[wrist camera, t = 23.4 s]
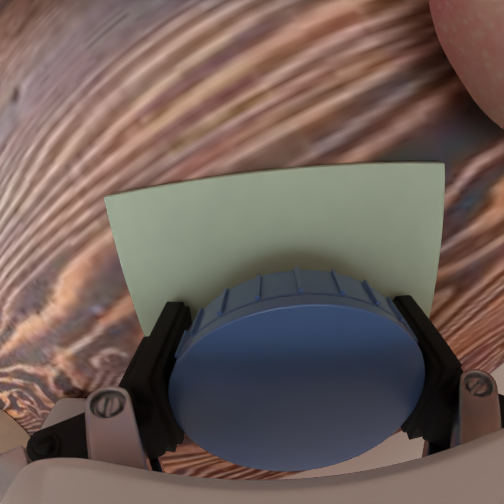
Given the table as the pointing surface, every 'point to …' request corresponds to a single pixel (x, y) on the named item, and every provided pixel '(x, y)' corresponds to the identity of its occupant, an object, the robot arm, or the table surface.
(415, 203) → the coaster
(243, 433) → the jar lid
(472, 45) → the apple
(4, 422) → the jam jar
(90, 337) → the table surface
